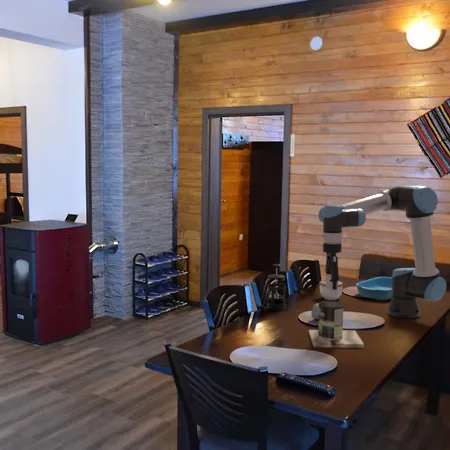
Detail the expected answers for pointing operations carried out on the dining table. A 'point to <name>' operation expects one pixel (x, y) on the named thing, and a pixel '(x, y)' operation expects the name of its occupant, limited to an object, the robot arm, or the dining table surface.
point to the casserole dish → (376, 288)
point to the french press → (280, 296)
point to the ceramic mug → (315, 311)
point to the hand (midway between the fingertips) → (331, 293)
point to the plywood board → (347, 341)
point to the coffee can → (330, 320)
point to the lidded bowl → (327, 293)
